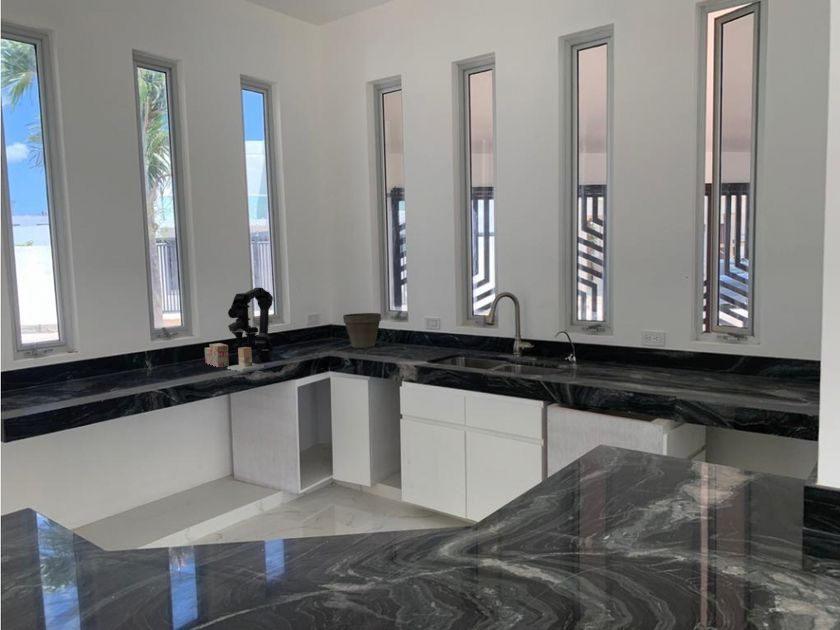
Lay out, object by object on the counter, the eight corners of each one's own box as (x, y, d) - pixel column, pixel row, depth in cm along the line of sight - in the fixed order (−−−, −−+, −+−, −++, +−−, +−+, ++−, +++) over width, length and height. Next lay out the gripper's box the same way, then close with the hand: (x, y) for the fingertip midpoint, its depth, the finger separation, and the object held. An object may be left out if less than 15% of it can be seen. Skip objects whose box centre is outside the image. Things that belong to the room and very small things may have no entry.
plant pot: (344, 345, 450) (343, 313, 448) (381, 343, 453) (379, 311, 451) (344, 350, 425) (343, 316, 423) (383, 348, 428) (381, 315, 426)
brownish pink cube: (246, 355, 368) (245, 346, 368) (251, 356, 365) (251, 347, 364) (238, 357, 364) (238, 347, 364) (243, 357, 361) (243, 348, 361)
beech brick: (246, 364, 369) (246, 355, 368) (252, 365, 365) (251, 356, 365) (239, 366, 365) (238, 357, 364) (244, 366, 362) (243, 357, 361)
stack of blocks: (205, 363, 388) (203, 342, 387) (215, 362, 391) (214, 341, 390) (218, 368, 371) (217, 346, 369) (229, 366, 374) (228, 344, 373)
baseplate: (249, 365, 375) (249, 362, 375) (264, 367, 366) (264, 365, 366) (227, 369, 365) (227, 366, 364) (242, 371, 355) (242, 368, 355)
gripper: (220, 317, 363) (222, 345, 364) (240, 318, 351) (241, 348, 352) (238, 315, 371) (239, 343, 373) (258, 316, 359) (259, 345, 360)
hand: (244, 345), depth 364 cm, fingers open, 9 cm apart
